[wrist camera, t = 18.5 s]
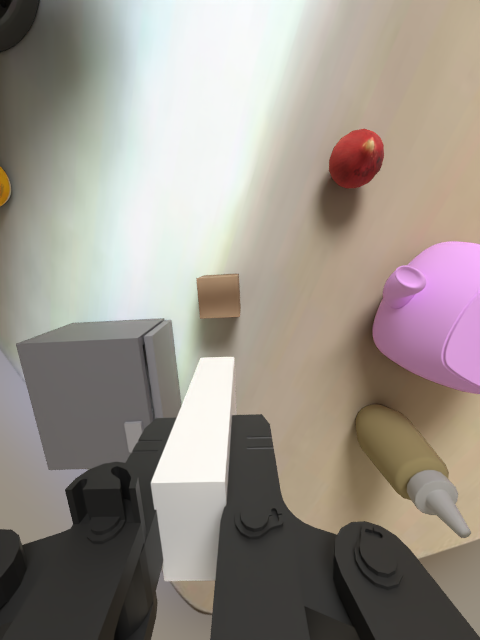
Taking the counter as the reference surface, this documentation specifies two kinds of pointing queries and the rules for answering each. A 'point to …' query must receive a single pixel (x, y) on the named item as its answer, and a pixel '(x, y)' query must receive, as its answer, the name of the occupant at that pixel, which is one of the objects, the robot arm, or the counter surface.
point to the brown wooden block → (219, 296)
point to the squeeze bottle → (409, 464)
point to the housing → (89, 390)
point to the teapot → (434, 316)
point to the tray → (162, 371)
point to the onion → (356, 158)
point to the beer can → (4, 187)
